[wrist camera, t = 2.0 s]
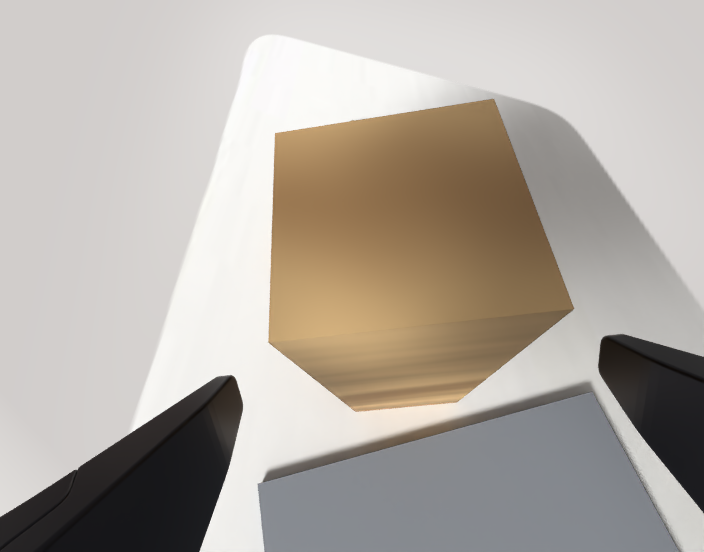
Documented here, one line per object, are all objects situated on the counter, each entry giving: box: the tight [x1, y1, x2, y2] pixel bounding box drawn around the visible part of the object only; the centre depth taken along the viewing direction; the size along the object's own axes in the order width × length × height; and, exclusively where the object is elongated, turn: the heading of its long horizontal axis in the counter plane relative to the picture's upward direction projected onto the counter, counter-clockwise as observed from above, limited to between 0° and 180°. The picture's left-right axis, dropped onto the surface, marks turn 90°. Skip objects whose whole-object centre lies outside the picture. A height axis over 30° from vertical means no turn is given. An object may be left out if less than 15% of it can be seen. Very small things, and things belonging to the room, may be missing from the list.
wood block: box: [268, 99, 574, 412], centre depth 13 cm, size 5×5×13 cm
